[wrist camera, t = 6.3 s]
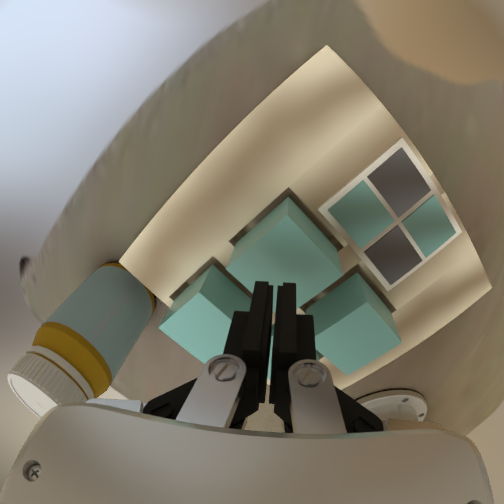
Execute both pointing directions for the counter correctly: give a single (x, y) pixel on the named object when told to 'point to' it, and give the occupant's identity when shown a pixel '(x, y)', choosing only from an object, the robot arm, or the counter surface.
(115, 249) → the counter surface
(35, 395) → the bottle
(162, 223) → the button board
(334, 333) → the button
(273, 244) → the button
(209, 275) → the button
